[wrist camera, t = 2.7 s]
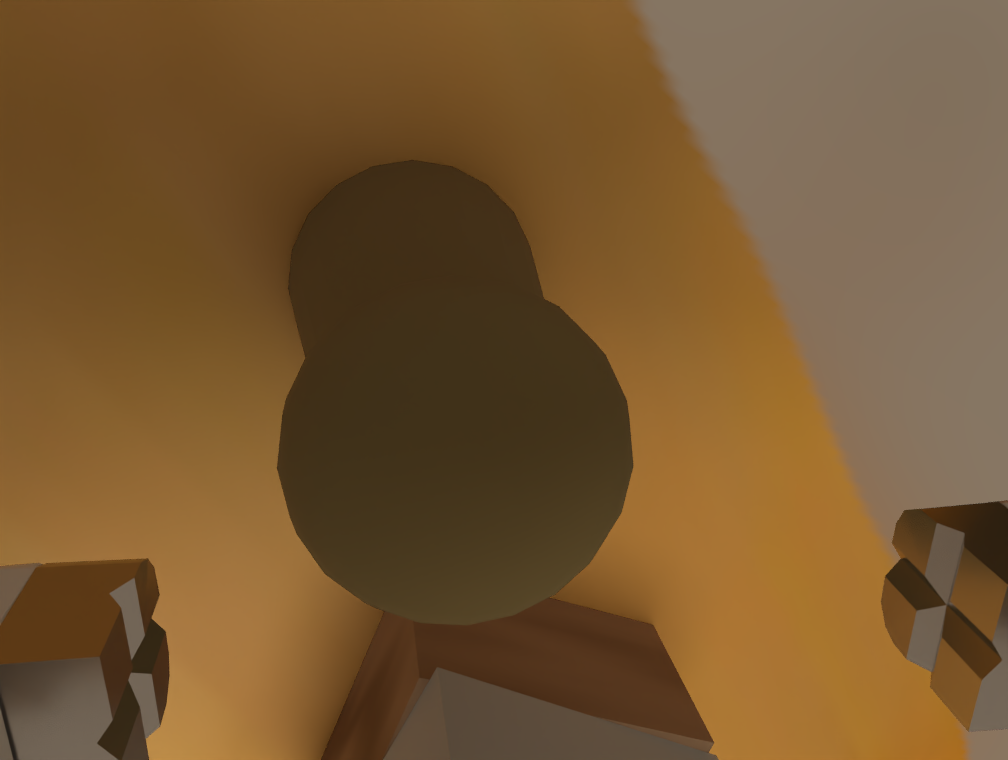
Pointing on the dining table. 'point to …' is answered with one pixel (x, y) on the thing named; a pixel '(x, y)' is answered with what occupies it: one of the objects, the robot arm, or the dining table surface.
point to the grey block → (516, 728)
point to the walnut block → (521, 673)
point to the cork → (443, 404)
